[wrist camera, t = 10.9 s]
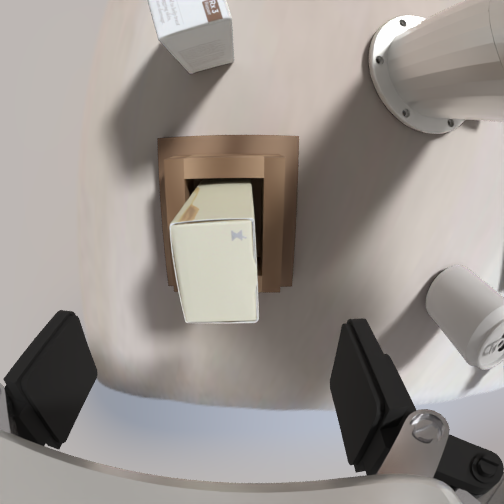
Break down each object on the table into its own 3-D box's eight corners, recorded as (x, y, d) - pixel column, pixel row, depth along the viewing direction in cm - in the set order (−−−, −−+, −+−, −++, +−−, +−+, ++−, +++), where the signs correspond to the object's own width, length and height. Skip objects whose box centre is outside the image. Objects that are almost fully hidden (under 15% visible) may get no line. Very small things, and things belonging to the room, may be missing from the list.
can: (463, 309, 34) (513, 363, 22) (418, 321, 34) (464, 385, 23) (473, 257, 31) (534, 305, 20) (425, 266, 31) (486, 324, 20)
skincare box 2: (201, 178, 26) (165, 216, 15) (252, 175, 26) (255, 210, 15) (207, 248, 28) (182, 327, 17) (254, 246, 28) (259, 325, 17)
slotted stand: (296, 136, 26) (307, 137, 21) (289, 279, 31) (297, 308, 26) (162, 138, 26) (142, 140, 21) (171, 278, 31) (158, 307, 26)
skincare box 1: (174, 22, 22) (131, -35, 10) (221, 8, 21) (206, -60, 10) (190, 78, 24) (150, 43, 13) (239, 64, 24) (233, 16, 12)
